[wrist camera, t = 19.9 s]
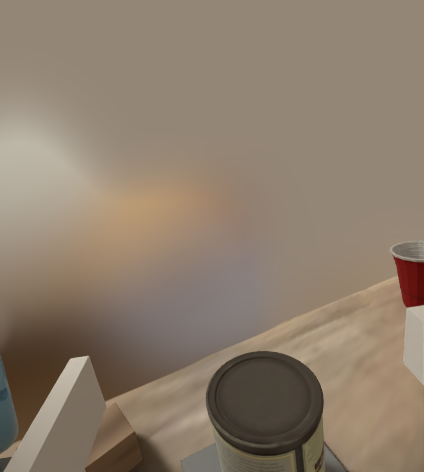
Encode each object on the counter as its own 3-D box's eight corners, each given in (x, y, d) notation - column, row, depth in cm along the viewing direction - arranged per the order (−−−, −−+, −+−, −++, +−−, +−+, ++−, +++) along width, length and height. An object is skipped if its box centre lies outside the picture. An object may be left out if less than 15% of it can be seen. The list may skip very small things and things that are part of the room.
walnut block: (81, 460, 39) (70, 432, 37) (124, 429, 42) (115, 402, 41) (97, 498, 34) (84, 468, 33) (143, 460, 38) (134, 431, 36)
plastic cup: (412, 285, 65) (416, 233, 61) (469, 307, 55) (477, 247, 51) (375, 301, 62) (376, 247, 58) (428, 328, 52) (434, 265, 48)
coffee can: (231, 444, 37) (214, 351, 33) (318, 447, 35) (312, 349, 31) (221, 554, 27) (194, 443, 23) (340, 568, 25) (336, 449, 21)
